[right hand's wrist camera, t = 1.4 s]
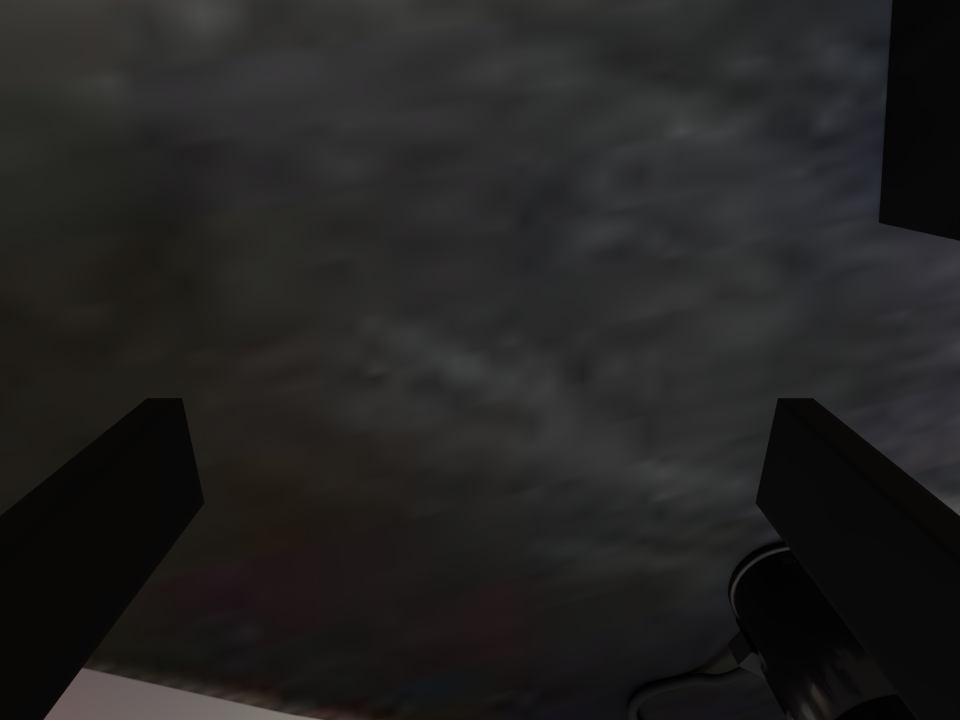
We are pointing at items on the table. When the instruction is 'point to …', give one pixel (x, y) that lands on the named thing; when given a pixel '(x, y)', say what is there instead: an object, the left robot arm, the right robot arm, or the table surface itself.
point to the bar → (923, 119)
